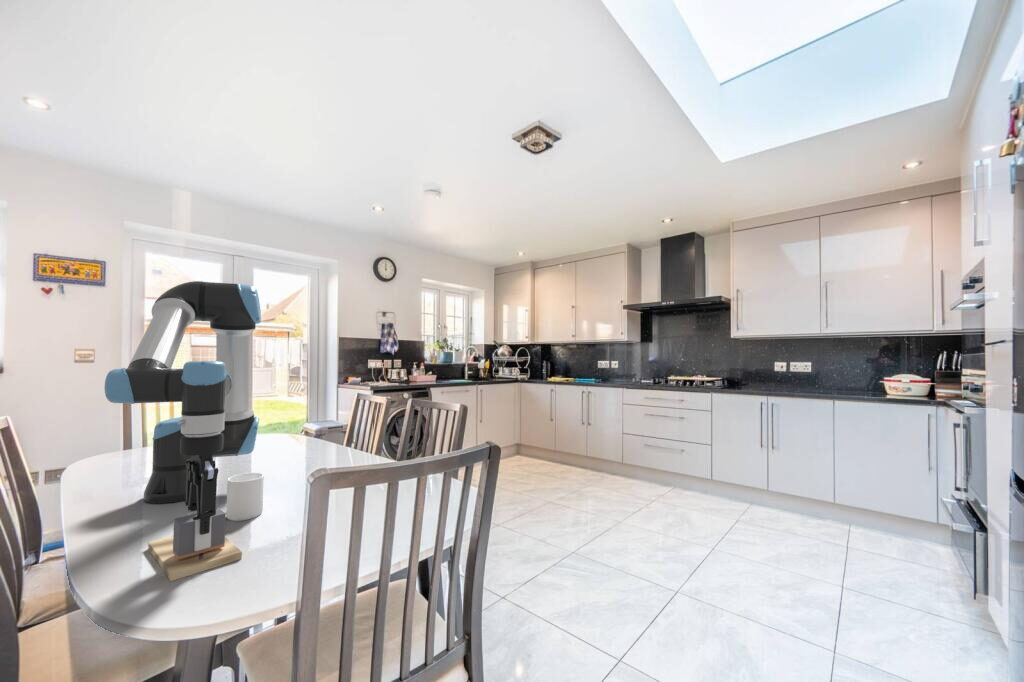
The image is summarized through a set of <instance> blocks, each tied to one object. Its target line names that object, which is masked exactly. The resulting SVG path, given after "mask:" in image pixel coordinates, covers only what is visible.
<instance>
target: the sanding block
mask: <svg viewBox="0 0 1024 682" xmlns="http://www.w3.org/2000/svg"><path fill="white" fill-rule="evenodd" d="M226 516H227V513H225V512H224V511H223V510H221V509H220V508H216V514H215V515H214V516H212V524H211V547H209V548H206V549H202V550H199V551H194V538H195V520H193V517H197V514H193V515H189V516H188V515H185V516H180V517H176V518H173V534H172V536H173V554H174V555H175V556H176V557H177V559H178V560H179V559H183V558H186V557H190V556H193V555H197V554H200V553H204V552H207V551H210V550H214V549H217V548H221V547H224V545H225V537H226Z"/></svg>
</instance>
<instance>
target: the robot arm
mask: <svg viewBox="0 0 1024 682" xmlns="http://www.w3.org/2000/svg"><path fill="white" fill-rule="evenodd" d="M261 311H262V310H261V303H260V298H259V293H258V290H257V289H256V287H255V286H253V285H248V284H241V283H232V282H230V283H228V282H211V281H209V282H208V281H203V280H201V281H200V280H197V281H196V280H194V281H188V282H184V283H180V284H178V285H174V287H171V288H169V289H167V290H166V291H164V292H163V293H162V294H161V295H159V297H158V298H157V299H156V300H155V302H154V303H153V306H152V308H151V316H152V318H151V320H150V322H149V323H148V326H147V328H146V330H145V332H144V334H143V336H142V338H141V340H140V342H139V344H138V346H137V348H136V350H135V352H134V354H133V356H132V358H131V360H130V362H129V364H128V366H127V368H125V367H122V368H114V369H112V370H110V371H108V372H107V375H106V377H105V380H104V393H105V398H106V400H107V401H109V403H112V404H130V405H134V404H153V403H180V402H181V416H179V417H173V418H169V419H165V420H162V421H160V422H158V423H156V425H154V430H153V437H152V440H153V441H152V443H153V444H152V469H151V470H152V472H151V475H150V477H149V480H148V482H147V484H146V486H145V489H144V492H143V499H142V500H143V502H145V503H147V504H169V503H176V502H182V501H185V502H184V505H185V506H187V511H188V513H187V516H189V515H193V514H197V517H193V520H195V538H194V551H199V550H202V549H206V548H209V547H211V524H212V516H214V515H215V514H216V509H217V485H218V476H219V475H218V474H219V471H220V470H219V468H218V467H216V461H215V460H214V458H223V457H239V456H243V455H249V454H251V453H253V451H254V449H255V445H256V440H257V433H258V429H259V425H260V424H259V422H260V418H259V417H257V416H255V411H254V410H253V409H251V408H250V401H249V400H250V392H249V391H250V341H251V340H250V339H251V338H250V336H251V334H252V333H253V332H254V331H255V330H256V327H257V326H256V324H257V325H258V324H260V323H262V315H261ZM194 322H210V323H209V324H210V325H209V326H210V327H209V328H210V329H211V330H212V331H213V332H214V333H215V336H216V338H215V339H216V341H215V342H216V344H215V345H216V346H215V347H216V348H215V349H216V351H215V352H216V354H215V355H216V356H215V358H216V360H207V361H206V360H199V361H198V360H195V361H193V360H192V361H186V362H185V363H184V364H183V368H172V367H173V366H174V365H173V364H174V362H175V359H176V357H177V353H178V351H179V348H180V346H181V343H182V341H183V339H184V335H185V333H186V329H187V327H189V326H190V325H192V324H193V323H194Z"/></svg>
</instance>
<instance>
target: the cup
mask: <svg viewBox="0 0 1024 682" xmlns="http://www.w3.org/2000/svg"><path fill="white" fill-rule="evenodd" d="M264 478H265V475H264V474H263V473H261V472H246V473H239V474H235V475H231V476H230V477H228V478H227V481H226V482H227V484H226V486H227V489H226V490H227V491H226V519H228V520H229V521H233V522H238V521H246V520H247V521H248V520H251V519H254V518H257V517H259V516H261V515H262V513H263V510H264V488H265V487H264V483H265V481H264Z"/></svg>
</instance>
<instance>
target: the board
mask: <svg viewBox="0 0 1024 682" xmlns="http://www.w3.org/2000/svg"><path fill="white" fill-rule="evenodd" d="M147 543H148V544H147V545H148V546H147V550H148V551H149V552H150V554H151V555H152V556H153V558H154V559H155V561H156V562H157V564H158V565H159V566H160V568H161V569H162V570H163V572H164V574H165V575H166V576H167V578H168V580H169V581H170V582H174V581H176V580H179V579H183V578H186V577H188V576H192V575H196V574H198V573H201V572H205V571H207V570H211V569H214V568H217V567H220V566H223V565H228V564H230V563H232V562H237V561H239V560H242V556H243V552H242V550H240V549H239V548H238V547H237V546H236V545H235V543H232V541H230V540H229V539H228V538H227V537H226V536H225V545H224V547H221V548H217V549H214V550H210V551H207V552H204V553H200V554H197V555H193V556H190V557H186V558H183V559H179V560H178V559H177V557H176V556H175V555H174V554H173V535H172V536H171V535H170V536H167V537H163V538H160V539H156V540H151V541H148V542H147Z"/></svg>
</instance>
